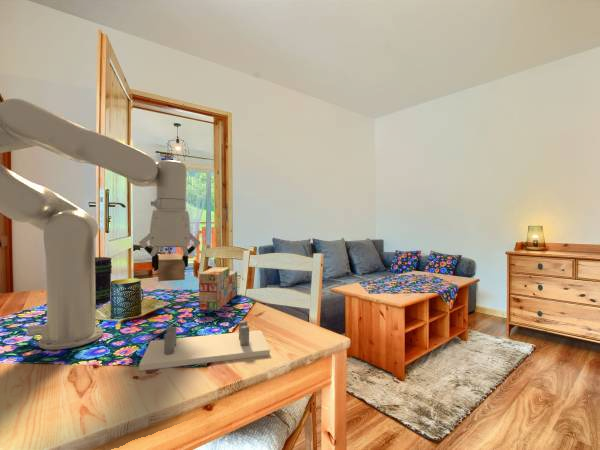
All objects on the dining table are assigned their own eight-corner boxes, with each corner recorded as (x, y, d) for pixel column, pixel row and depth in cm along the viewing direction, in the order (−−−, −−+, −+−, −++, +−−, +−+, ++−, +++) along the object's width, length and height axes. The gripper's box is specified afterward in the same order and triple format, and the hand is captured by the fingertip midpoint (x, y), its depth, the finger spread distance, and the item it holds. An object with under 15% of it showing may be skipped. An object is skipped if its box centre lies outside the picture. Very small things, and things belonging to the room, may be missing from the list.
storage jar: (85, 297, 112) (84, 257, 112) (115, 296, 115) (115, 256, 115) (74, 305, 103) (73, 261, 102) (107, 303, 106) (107, 260, 105)
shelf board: (158, 281, 73) (158, 264, 73) (158, 267, 93) (158, 254, 93) (184, 279, 76) (184, 263, 76) (179, 266, 96) (179, 253, 96)
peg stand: (139, 370, 60) (138, 344, 59) (150, 345, 71) (150, 323, 71) (269, 355, 67) (269, 331, 67) (260, 334, 78) (261, 314, 78)
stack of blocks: (222, 294, 120) (222, 263, 120) (237, 294, 119) (237, 263, 119) (198, 310, 99) (198, 272, 98) (217, 311, 98) (217, 273, 98)
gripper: (133, 204, 78) (132, 273, 79) (203, 206, 83) (202, 271, 84) (139, 205, 86) (138, 268, 86) (204, 207, 91) (203, 267, 91)
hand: (170, 269), depth 85 cm, fingers closed on shelf board, 6 cm apart
